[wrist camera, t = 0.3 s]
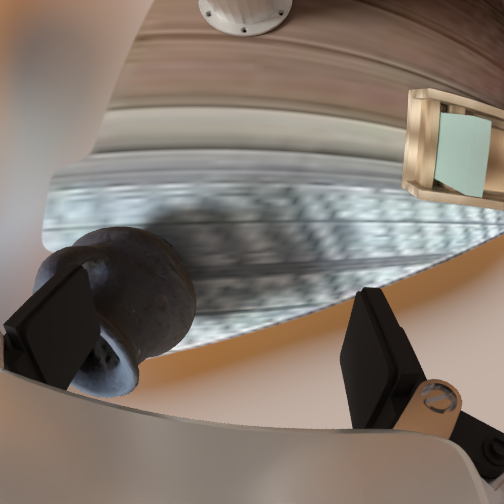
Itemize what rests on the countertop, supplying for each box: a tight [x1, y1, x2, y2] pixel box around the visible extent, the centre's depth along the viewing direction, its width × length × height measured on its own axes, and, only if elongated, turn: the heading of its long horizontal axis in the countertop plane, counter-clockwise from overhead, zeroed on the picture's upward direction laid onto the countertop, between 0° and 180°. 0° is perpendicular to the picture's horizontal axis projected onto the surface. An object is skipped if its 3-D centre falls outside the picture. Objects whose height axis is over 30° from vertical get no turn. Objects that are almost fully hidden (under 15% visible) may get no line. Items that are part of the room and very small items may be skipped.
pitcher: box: [33, 227, 196, 398], centre depth 39 cm, size 21×22×25 cm
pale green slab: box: [434, 113, 491, 198], centre depth 33 cm, size 9×3×12 cm, turn 179°
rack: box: [401, 88, 504, 210], centre depth 36 cm, size 14×20×7 cm
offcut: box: [483, 128, 504, 192], centre depth 34 cm, size 9×7×2 cm
